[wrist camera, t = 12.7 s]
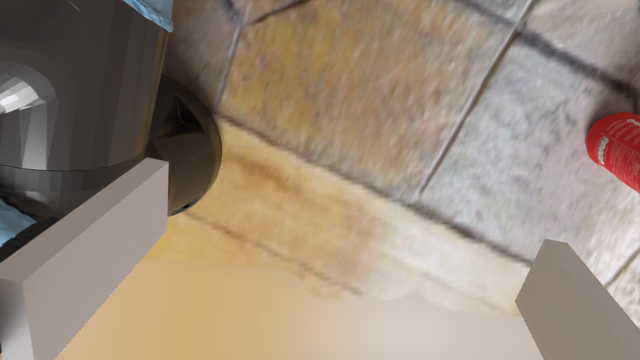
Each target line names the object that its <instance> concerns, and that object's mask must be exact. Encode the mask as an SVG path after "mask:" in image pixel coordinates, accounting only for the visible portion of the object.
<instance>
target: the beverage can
mask: <svg viewBox="0 0 640 360" xmlns="http://www.w3.org/2000/svg"><path fill="white" fill-rule="evenodd" d="M585 144H586V148H587V152H588V155H589V157H590V158H591V159H592V160H593V161H594V162H595V163H596V164H598V165H599V166H601V167H602V168H604V169H605V170H606V171H608V172H609V173H611V174H612V175H614V176H615V177H617V178H618V179H619V180H621V181H622V182H624V183H625V184H627V185H628V186H629V187H631V188H632V189H634V190H635V191H637V192H638V193H640V116H639V115H636V114H633V113H617V114H611V115H607V116H604V117H602V118H600V119H599V120H597V121H596V122H595V123H594V124H593V125H592V126H591V127H590V129H589V130H588V132H587V135H586V139H585Z"/></svg>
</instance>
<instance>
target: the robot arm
mask: <svg viewBox="0 0 640 360" xmlns="http://www.w3.org/2000/svg"><path fill="white" fill-rule="evenodd" d="M173 3H174V0H0V354H1V357H2V360H54V359H55V358H56V357H57V356H58V355H59V354H60V352H61V351H62V350H63V349H64V348H65V347H66V345H67V344H68V343H69V342H70V341H71V340H72V338H73V337H74V336H75V335H76V334H77V333H78V332H79V330H80V329H81V328H82V327H83V326H84V325H85V323H86V322H87V321H88V320H89V319H90V318H91V317H92V315H93V314H94V313H95V312H96V311H97V310H98V309H99V307H100V306H101V305H102V304H103V303H104V302H105V300H106V299H107V298H108V297H109V296H110V295H111V294H112V292H113V291H114V290H115V289H116V288H117V287H118V285H119V284H120V283H121V282H122V281H123V280H124V279H125V277H126V276H127V275H128V274H129V273H130V271H131V270H132V269H133V268H134V267H135V266H136V265H137V264H138V262H139V261H140V260H141V259H142V258H143V257H144V255H145V254H146V253H147V252H148V251H149V250H150V249H151V247H152V246H153V245H154V244H155V243H156V242H157V240H158V239H159V238H160V237H161V236H162V235H163V234H164V232H165V231H166V230H167V217H169V216H172V215H175V214H178V213H181V212H183V211H185V210H187V209H189V208H190V207H192V206H193V205H195V204H196V203H197V202H198V201H199V200H200V199H201V198H202V197H203V196H204V195H205V194H206V192H207V191H208V190H209V189H210V188H211V186H212V185H213V183H214V181H215V180H216V178H217V175H218V173H219V169H220V165H221V156H222V151H221V142H220V137H219V133H218V130H217V127H216V125H215V123H214V120H213V119H212V117H211V115H210V113H209V112H208V110H207V109H206V107H205V106H204V105H203V103H202V102H201V101H200V100H199V99H198V98H197V97H196V96H195V95H194V94H193V93H192V92H191V91H190V90H188V89H187V88H186V87H184V86H183V85H181V84H180V83H178V82H176V81H175V80H173V79H170V78H168V77H166V76H163V75H161V73H162V68H163V63H164V59H165V54H166V49H167V44H168V39H169V34H170V32H173V29H174V24H173V22H172V11H173ZM515 303H516V305H517V307H518V309H519V311H520V313H521V315H522V317H523V319H524V321H525V322H526V324H527V327H528V328H529V331H530V333H531V334H532V337H533V338H534V341H535V343H536V345H537V347H538V349H539V351H540V353H541V355H542V357H543V359H544V360H640V329H639V328H638V327H637V326H636V325H635V324H634V322H633V321H632V320H631V319H630V318H629V316H628V315H627V314H626V313H625V312H624V310H623V309H622V308H621V307H620V306H619V304H618V303H617V302H616V301H615V300H614V298H613V297H612V296H611V295H610V294H609V292H608V291H607V290H606V289H605V288H604V286H603V285H602V284H601V283H600V282H599V280H598V279H597V278H596V277H595V276H594V274H593V273H592V272H591V271H590V270H589V268H588V267H587V266H586V265H585V264H584V262H583V261H582V260H581V259H580V258H579V256H578V255H577V254H576V253H575V252H574V250H573V249H572V248H571V247H570V246H569V244H568V243H564V242H559V241H554V240H549V239H545V240H544V242H543V244H542V246H541V248H540V250H539V252H538V254H537V256H536V258H535V261H534V263H533V265H532V267H531V269H530V271H529V273H528V275H527V277H526V279H525V281H524V284H523V286H522V288H521V290H520V292H519V294H518V296H517V298H516V300H515Z"/></svg>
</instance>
